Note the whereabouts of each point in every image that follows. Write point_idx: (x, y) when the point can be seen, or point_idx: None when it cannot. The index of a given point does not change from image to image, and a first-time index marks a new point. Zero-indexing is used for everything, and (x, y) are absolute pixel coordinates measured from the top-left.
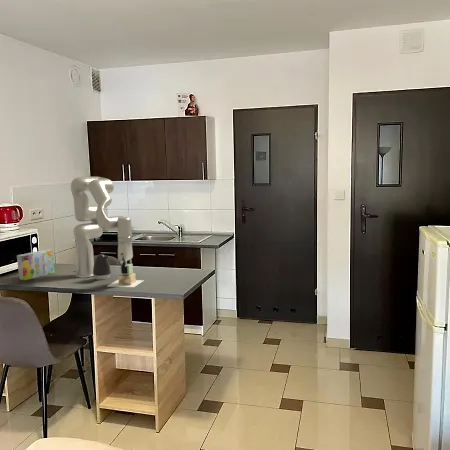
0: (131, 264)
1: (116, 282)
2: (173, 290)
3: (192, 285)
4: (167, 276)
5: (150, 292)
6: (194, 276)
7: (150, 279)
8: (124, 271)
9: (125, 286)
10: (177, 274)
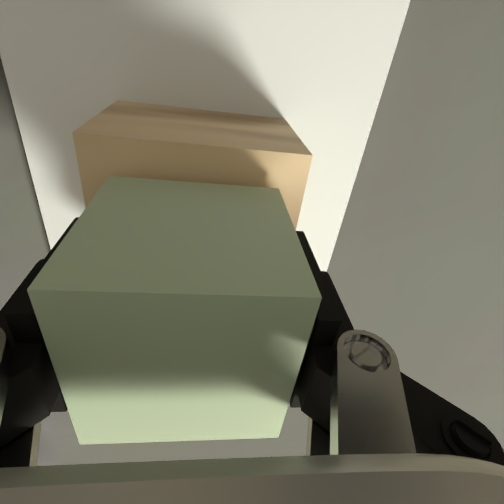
0: (226, 434)
1: (240, 11)
2: (106, 460)
3: None
4: (449, 373)
5: None
6: None
7: (394, 306)
8: None
9: (60, 210)
10: (479, 402)
